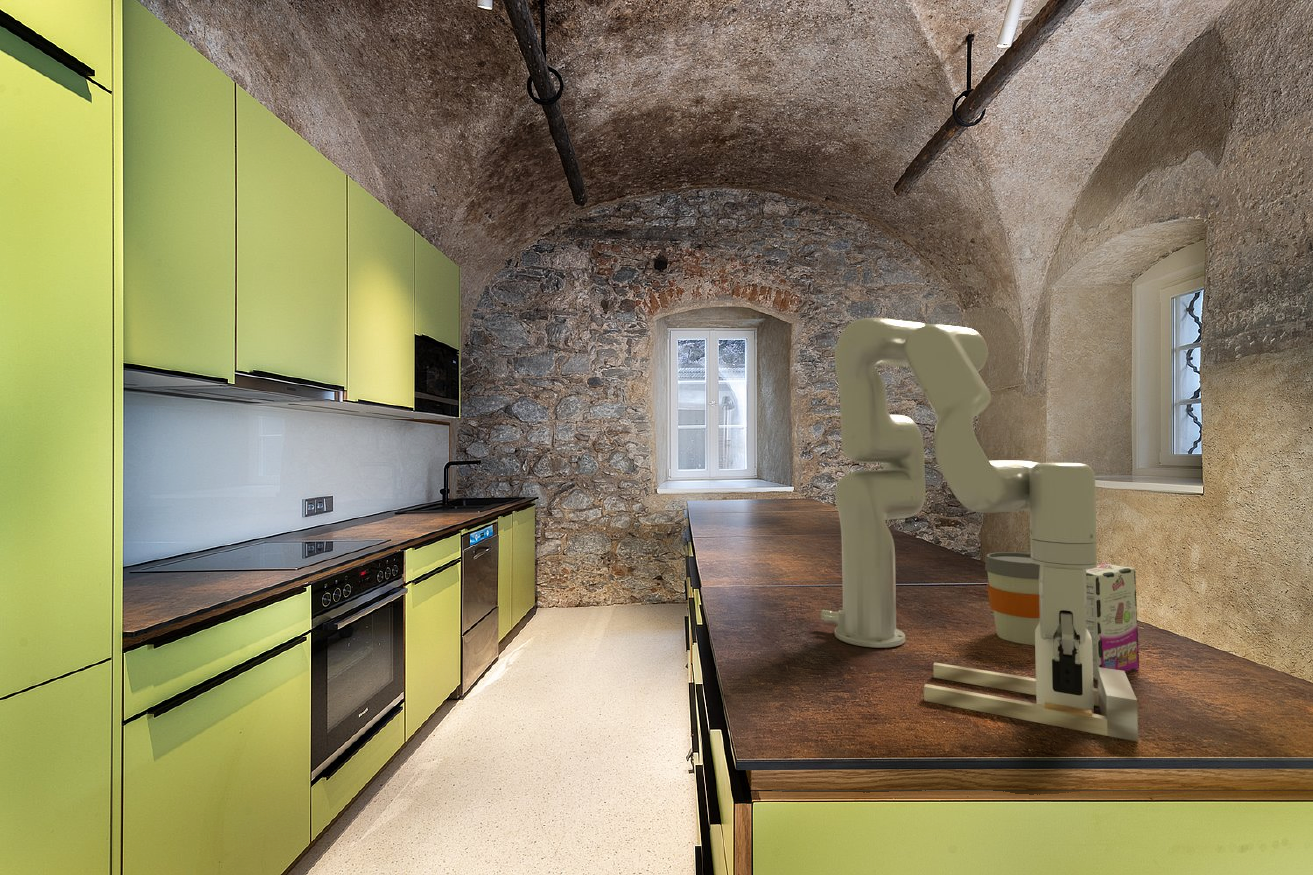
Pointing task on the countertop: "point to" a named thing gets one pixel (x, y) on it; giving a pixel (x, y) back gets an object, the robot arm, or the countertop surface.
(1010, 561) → the reusable coffee cup
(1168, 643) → the countertop surface
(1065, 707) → the beige u-shaped frame
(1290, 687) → the countertop surface
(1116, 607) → the candy bar box
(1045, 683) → the can
